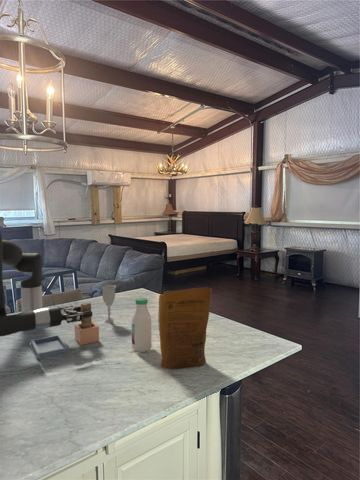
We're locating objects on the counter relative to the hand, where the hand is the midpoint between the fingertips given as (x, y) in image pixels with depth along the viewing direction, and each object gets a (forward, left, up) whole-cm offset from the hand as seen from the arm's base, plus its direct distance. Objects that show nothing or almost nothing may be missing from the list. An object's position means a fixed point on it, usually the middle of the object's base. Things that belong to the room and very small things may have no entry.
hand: (88, 310), depth 134 cm
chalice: (-16, +15, -13) cm, 26 cm away
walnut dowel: (0, -1, -12) cm, 12 cm away
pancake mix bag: (+39, +21, -13) cm, 46 cm away
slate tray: (0, -15, -13) cm, 20 cm away
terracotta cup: (0, -1, -13) cm, 13 cm away
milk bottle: (+18, +15, -13) cm, 27 cm away
